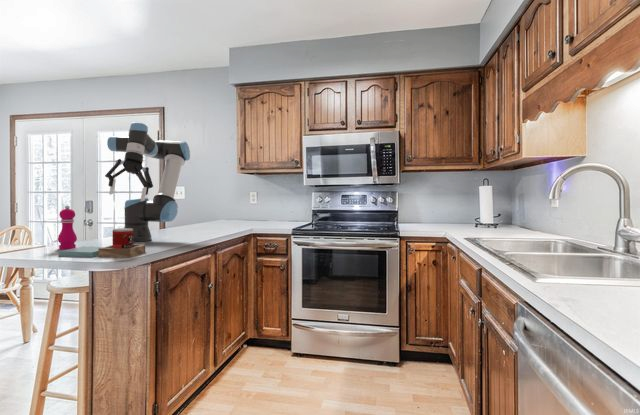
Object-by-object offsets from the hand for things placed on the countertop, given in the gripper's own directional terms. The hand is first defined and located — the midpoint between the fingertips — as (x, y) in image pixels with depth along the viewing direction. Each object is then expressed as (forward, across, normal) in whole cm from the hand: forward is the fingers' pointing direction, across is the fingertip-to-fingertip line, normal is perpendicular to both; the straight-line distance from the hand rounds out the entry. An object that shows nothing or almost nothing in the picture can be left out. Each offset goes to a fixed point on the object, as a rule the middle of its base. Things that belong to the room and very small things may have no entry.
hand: (127, 197), depth 160 cm
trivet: (+26, -9, +8) cm, 29 cm away
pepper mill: (+22, -11, +29) cm, 39 cm away
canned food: (+26, +1, -3) cm, 26 cm away
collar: (+26, +1, -3) cm, 26 cm away
